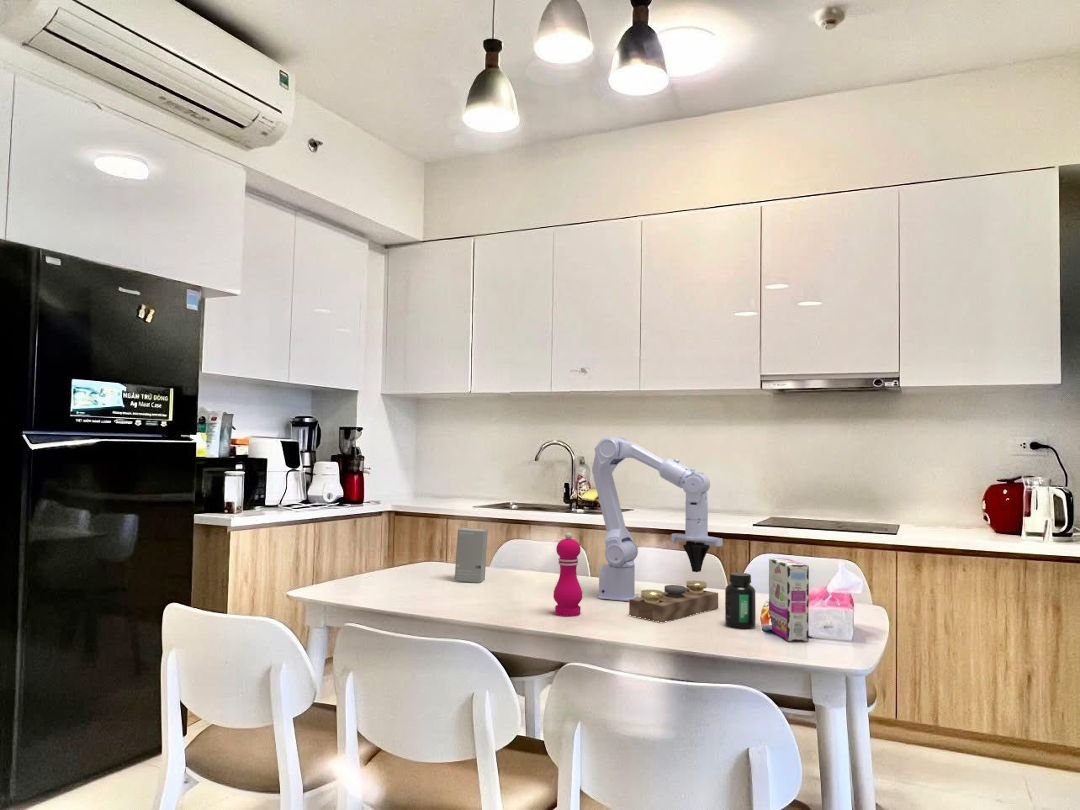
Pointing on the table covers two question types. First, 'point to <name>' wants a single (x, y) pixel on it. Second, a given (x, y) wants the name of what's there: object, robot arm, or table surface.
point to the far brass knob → (696, 586)
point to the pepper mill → (568, 578)
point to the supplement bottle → (740, 602)
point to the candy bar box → (789, 599)
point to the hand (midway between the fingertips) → (696, 571)
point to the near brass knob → (651, 596)
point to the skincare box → (471, 555)
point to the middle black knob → (674, 590)
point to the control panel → (674, 606)
